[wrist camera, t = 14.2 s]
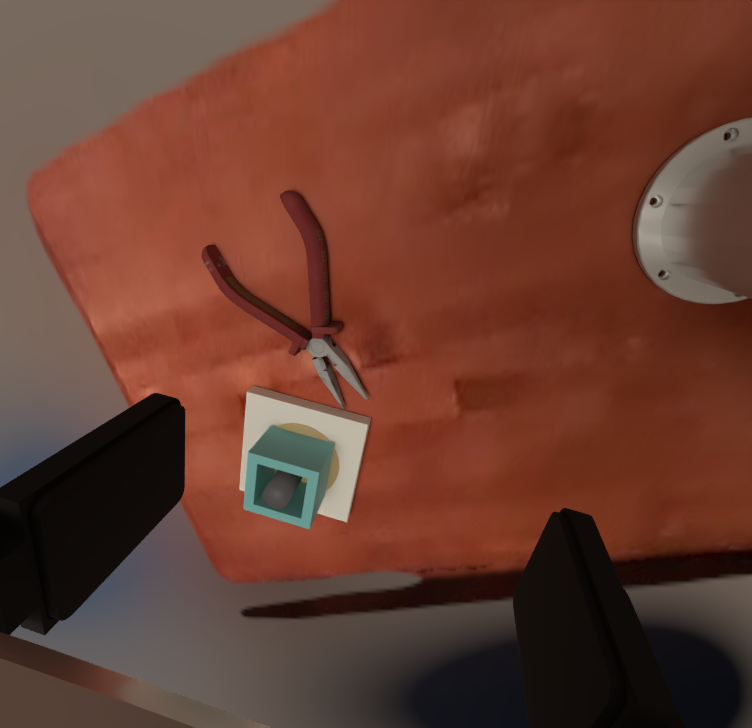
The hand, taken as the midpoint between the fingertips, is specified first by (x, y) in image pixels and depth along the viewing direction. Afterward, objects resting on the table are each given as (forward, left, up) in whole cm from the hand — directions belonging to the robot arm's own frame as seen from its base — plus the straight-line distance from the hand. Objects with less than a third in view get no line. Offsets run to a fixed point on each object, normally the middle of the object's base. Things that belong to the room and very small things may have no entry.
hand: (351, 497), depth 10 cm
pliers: (+13, +6, -29) cm, 32 cm away
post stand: (+9, +21, -28) cm, 36 cm away
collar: (+9, +21, -26) cm, 35 cm away
